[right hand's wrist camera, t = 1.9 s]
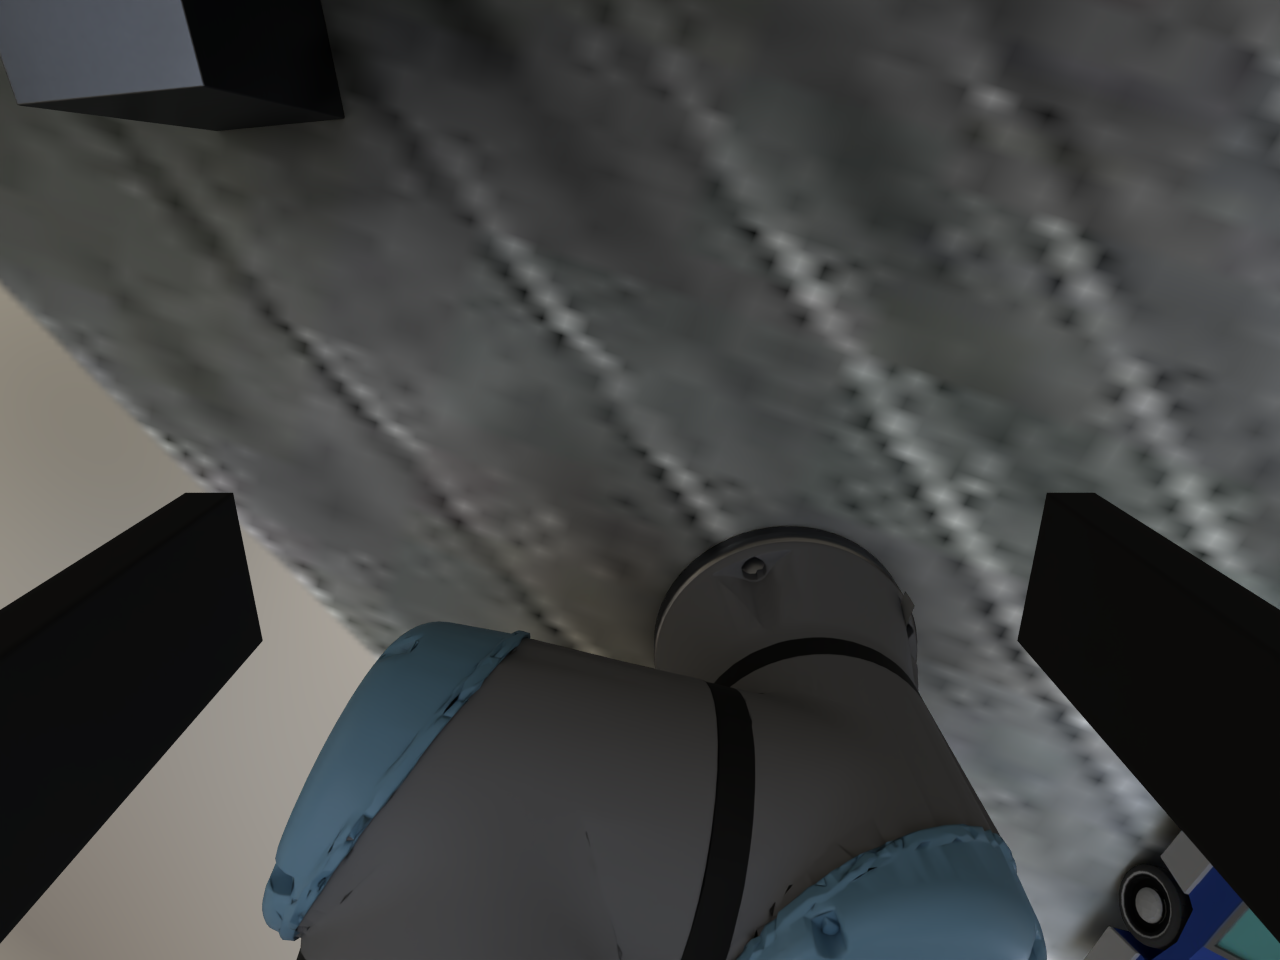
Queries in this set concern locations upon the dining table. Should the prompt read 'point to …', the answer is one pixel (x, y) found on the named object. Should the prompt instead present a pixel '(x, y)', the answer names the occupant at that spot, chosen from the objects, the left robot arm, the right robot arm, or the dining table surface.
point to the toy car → (1183, 914)
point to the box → (173, 60)
